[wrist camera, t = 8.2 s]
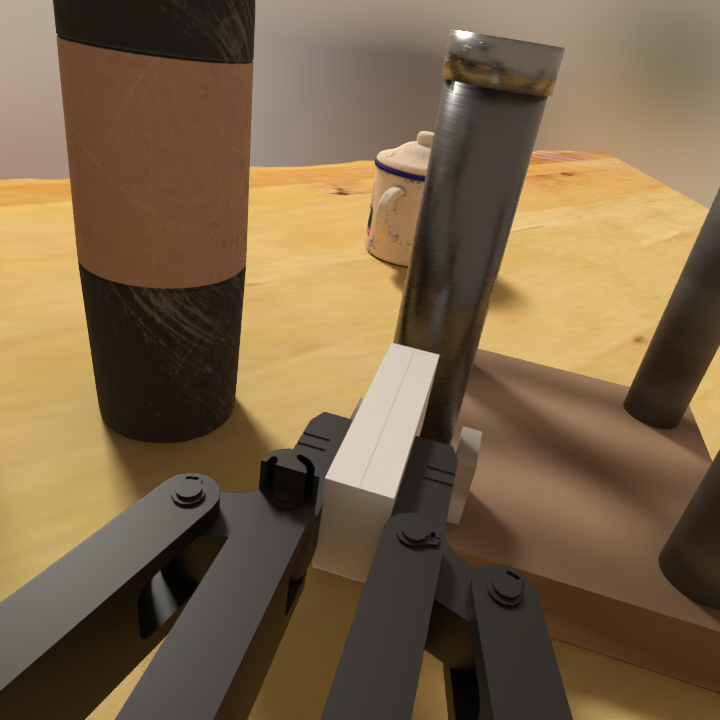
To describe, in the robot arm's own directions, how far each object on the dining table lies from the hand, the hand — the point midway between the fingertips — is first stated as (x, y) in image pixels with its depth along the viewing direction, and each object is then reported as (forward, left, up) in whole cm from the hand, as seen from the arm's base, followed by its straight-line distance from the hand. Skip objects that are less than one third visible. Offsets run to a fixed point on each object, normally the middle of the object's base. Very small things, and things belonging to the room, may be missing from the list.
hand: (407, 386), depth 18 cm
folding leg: (-2, +3, -6) cm, 7 cm away
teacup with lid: (-33, +23, -10) cm, 42 cm away
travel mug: (-15, -4, -10) cm, 19 cm away
